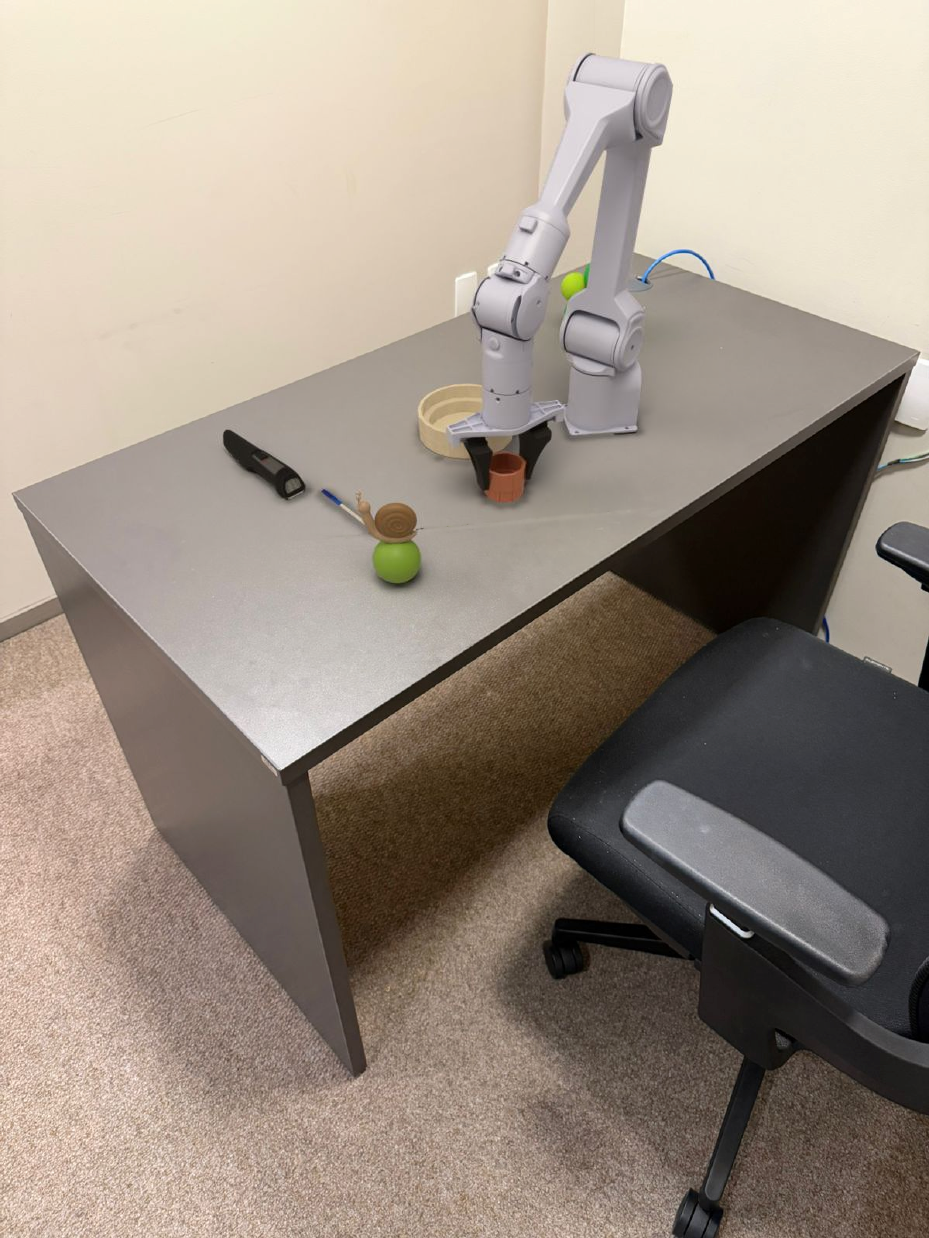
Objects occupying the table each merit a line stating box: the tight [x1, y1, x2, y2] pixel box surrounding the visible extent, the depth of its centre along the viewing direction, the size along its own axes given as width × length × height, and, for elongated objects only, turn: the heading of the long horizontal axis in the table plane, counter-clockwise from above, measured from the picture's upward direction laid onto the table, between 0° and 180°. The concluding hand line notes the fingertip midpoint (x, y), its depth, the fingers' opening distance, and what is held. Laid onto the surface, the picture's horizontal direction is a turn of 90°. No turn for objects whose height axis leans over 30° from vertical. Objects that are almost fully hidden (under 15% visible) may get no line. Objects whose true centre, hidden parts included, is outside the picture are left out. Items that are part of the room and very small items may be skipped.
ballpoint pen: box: [320, 488, 364, 525], centre depth 107 cm, size 10×1×1 cm, turn 43°
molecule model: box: [560, 263, 590, 317], centre depth 135 cm, size 9×9×9 cm
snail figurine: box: [355, 490, 422, 584], centre depth 94 cm, size 5×6×12 cm
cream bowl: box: [417, 383, 514, 460], centre depth 118 cm, size 13×13×4 cm
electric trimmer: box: [222, 429, 306, 500], centre depth 113 cm, size 4×16×3 cm, turn 43°
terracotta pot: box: [483, 450, 526, 503], centre depth 108 cm, size 5×5×4 cm
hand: (504, 480), depth 108 cm, fingers closed on terracotta pot, 5 cm apart
